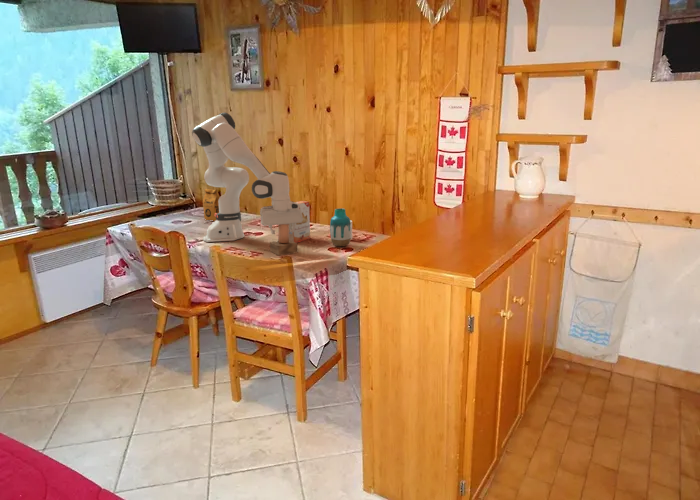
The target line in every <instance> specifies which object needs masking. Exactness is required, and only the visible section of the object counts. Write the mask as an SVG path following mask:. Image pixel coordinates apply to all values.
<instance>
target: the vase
mask: <svg viewBox="0 0 700 500" xmlns="http://www.w3.org/2000/svg"><path fill="white" fill-rule="evenodd" d="M350 220H351V218H350V217H349V216H347V214H346V208H343V207H342V208H335V209H334V215H333V216H331V218H330V222H329V223H330V225H329V226H330V227H329V229H330V230H329V232H330V241H331V243H332V244H333V245H334V246H336V247H346V246H348V245H349V244H350V242H351V222H350Z"/></svg>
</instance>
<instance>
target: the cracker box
mask: <svg viewBox="0 0 700 500" xmlns="http://www.w3.org/2000/svg"><path fill="white" fill-rule="evenodd" d="M296 203H298V204H299V205H300V208H299V209H300V210H301V211H302V216H303V221H302V222H301V223H296V226H295V228H294V232H290V228H292V227H293V225H292V224H289V240H290V241H293V242H295V243H297V244H298V243H300V242H303V241H306V240H309V239H311V225H310V223H311V221H310V219H311V218H310V201H306V200H300V201H296Z"/></svg>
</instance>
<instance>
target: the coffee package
mask: <svg viewBox="0 0 700 500" xmlns="http://www.w3.org/2000/svg"><path fill="white" fill-rule="evenodd" d="M204 192H205V194H204V196H203V199H202V207H203V217H204V220H205V219H206V220H213V221H216V217H215V216H214V215H215V213H217V214H218V213H219V203H218V200H219V198H220V197H221V196H220V195H219V192H218V190H217V189H211V188H210V189H207V188H205V189H204ZM206 220H205V221H206Z"/></svg>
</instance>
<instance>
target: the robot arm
mask: <svg viewBox="0 0 700 500" xmlns="http://www.w3.org/2000/svg"><path fill="white" fill-rule="evenodd" d="M191 135H192V138H193V140H194V142H195V143H196V144H197V145H198V146H199V147H201V148H203V151H204V153H205V155H206V159H207V161H208V167H207V169H206V170H205V172H204V175H203V176H204V181H205V183H206V185H208V186H210V187H213V188H225V192H224V194H222V195H221V196H219V197H220V198H219V200H218V203H219V213H218V214H217V213H215V215H214V216H215V217H216V221H215V222H212V223H211V224H210V225H209V226H208V227H207V230H206V235H204V236H203V238H202V240H203V242H205V243H206V242H207V243H211V242H229V241H236V240H240V239H242V238H243V239H244V237H245V234H244V231H243V228H242V227H243V226H242V213H241V210H240V196H241V193H242V191H243V189H244V188H245V187H246V186H247V185H248V183H249V182H250V174H249V172H248V171H247V170H246V169H245V168H242V167H238V166H237V167H236V166H234V167H233V166H232V167H230V166H225V164H226V163H227V162H228V160H230V161H231V162H234V163H237V164H241V165H244V166H245V167H247V168H248V169H249V170H250V171H251V172H252V173H253V175H254V176H255V177H256V178H257V179H256V180H255V181H253V183H252V185H251V193H252V195H253V196H254V197H255V198H257V199H262V200H263V199H267V198H271V205H267V206H262V207H261V208H260V209H259V213H260V216H261V218H260V224H261V225H262V226H264V227H267V226H268V228H269V229H270V231H271V232H270V233H271V235H275V234H276V230H275V229H273V226H278V225H281V224H292V225H293V227H292V228H290V232H294V228H295V226H296V223H301V222H302V221H303V216H302V211H301V210H300V209H299V208H300V205H299V204H298V203H296V202H297V201H296V202H295V201H292V200H291V197H290V191H291V190H290V180H289V176H288V174H287V173H286V172H283V171H279V170H278V171H277V170H275V171H272V172H270V171H268V170H267V169H268V168H266V167H265V165H264V164H263V163H262V162H261V161H260V160H259V158H258V157H257V156H256V155H255V154H254V153H253V151H252V150H251V149H250V148H249V147H248V145H247V144H246V142H245V141H244V139H243V138H242V137H241V135H240V134H239V133H238V132H237V130H236V122H235V120H234V118H233V116H231V114H229V113H228V112H221V113H219V114H218V115H214V116H212V117H209V118H208V119H206V120H205V121H203V122H202V123H200V124H199V125H196V126H195V127H194V128H193V129H192V132H191Z"/></svg>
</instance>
